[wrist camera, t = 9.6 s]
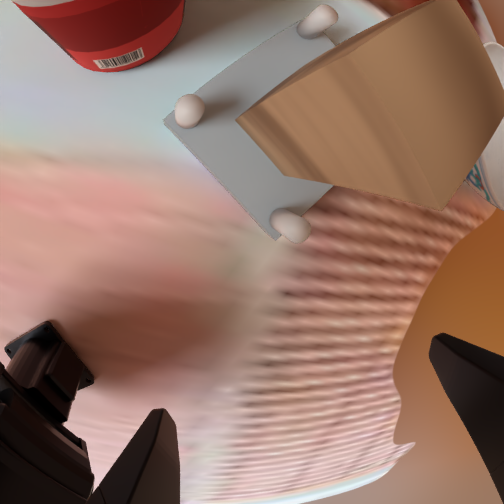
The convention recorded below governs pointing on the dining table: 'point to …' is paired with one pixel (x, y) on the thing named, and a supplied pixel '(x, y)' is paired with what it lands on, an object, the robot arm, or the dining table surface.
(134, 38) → the canned food
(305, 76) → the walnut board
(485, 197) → the chinaware
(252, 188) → the peg seat
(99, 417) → the dining table surface
